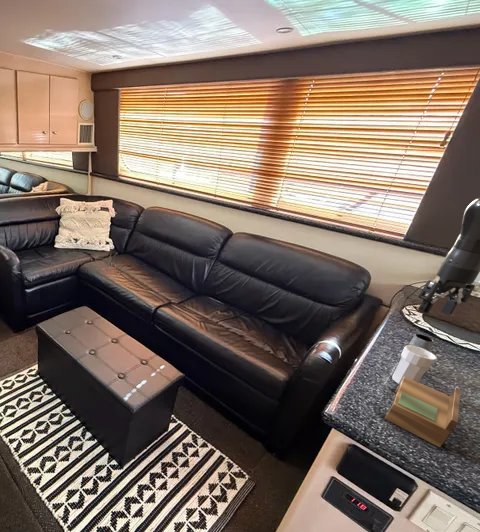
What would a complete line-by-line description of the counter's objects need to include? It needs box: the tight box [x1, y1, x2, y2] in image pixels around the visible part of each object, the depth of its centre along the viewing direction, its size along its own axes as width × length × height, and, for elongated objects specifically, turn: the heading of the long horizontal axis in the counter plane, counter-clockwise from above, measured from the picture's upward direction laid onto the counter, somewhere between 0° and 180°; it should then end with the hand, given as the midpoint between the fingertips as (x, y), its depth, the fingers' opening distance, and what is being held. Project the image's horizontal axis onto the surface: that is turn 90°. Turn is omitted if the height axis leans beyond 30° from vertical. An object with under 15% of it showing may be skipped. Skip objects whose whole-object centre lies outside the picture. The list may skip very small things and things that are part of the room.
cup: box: [391, 344, 438, 385], centre depth 94 cm, size 7×7×11 cm
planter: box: [408, 333, 435, 352], centre depth 103 cm, size 4×4×10 cm
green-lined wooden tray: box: [384, 377, 462, 448], centre depth 82 cm, size 18×10×8 cm, turn 129°
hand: (434, 312), depth 99 cm, fingers open, 8 cm apart
